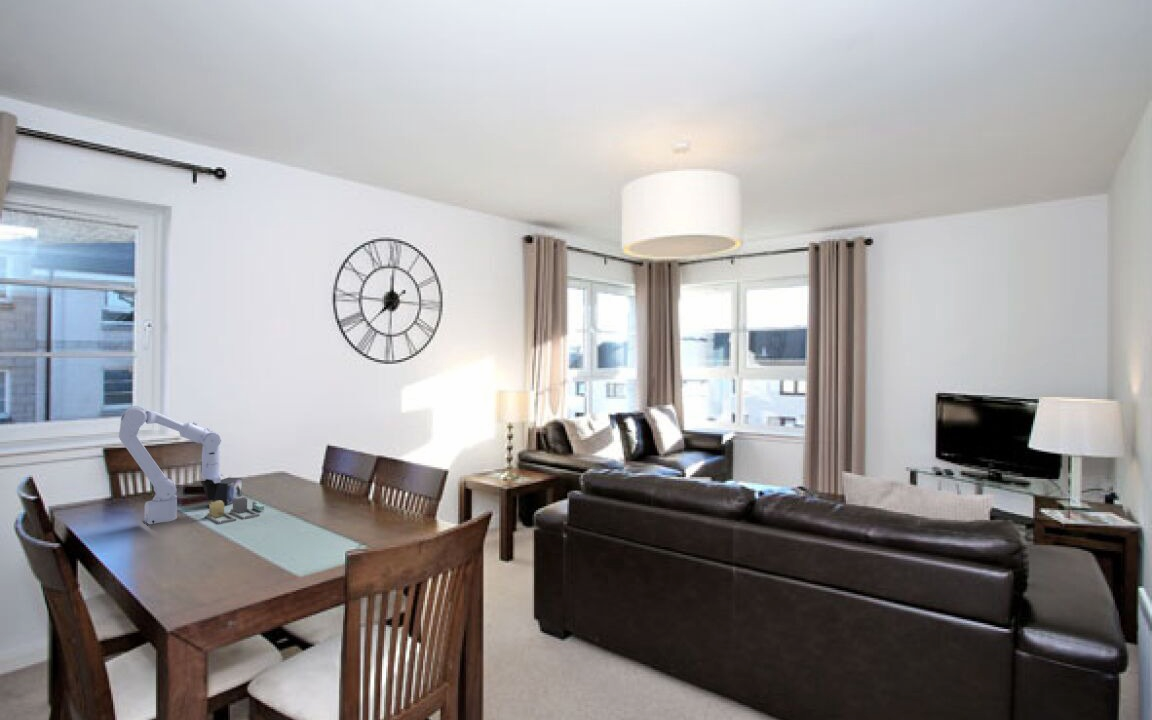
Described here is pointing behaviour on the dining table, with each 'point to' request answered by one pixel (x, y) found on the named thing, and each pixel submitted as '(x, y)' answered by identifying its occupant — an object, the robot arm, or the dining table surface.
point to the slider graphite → (240, 504)
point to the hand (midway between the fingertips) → (210, 499)
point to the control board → (233, 517)
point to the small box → (229, 490)
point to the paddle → (257, 506)
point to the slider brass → (216, 509)
